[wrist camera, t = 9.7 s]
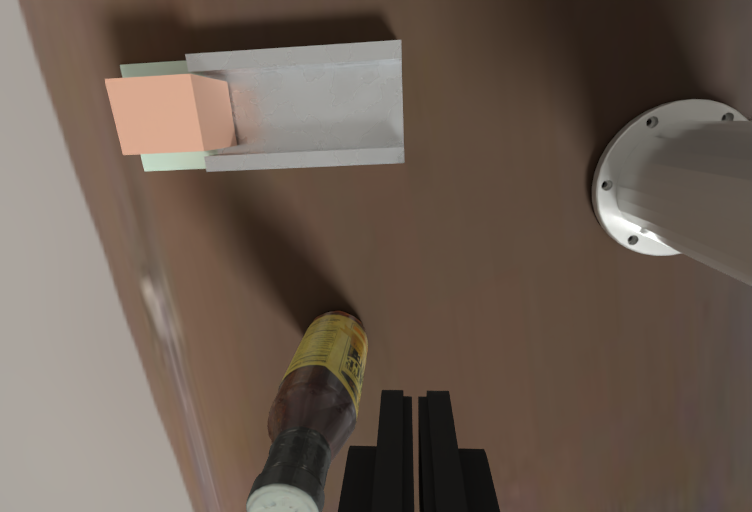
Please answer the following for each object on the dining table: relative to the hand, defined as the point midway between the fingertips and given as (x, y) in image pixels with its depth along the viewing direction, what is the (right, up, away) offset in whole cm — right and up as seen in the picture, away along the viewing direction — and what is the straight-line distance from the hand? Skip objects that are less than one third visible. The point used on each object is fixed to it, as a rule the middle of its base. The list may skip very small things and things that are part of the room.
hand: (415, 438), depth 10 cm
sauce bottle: (-5, -3, +30) cm, 31 cm away
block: (-16, +16, +23) cm, 32 cm away
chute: (-7, +17, +23) cm, 29 cm away
